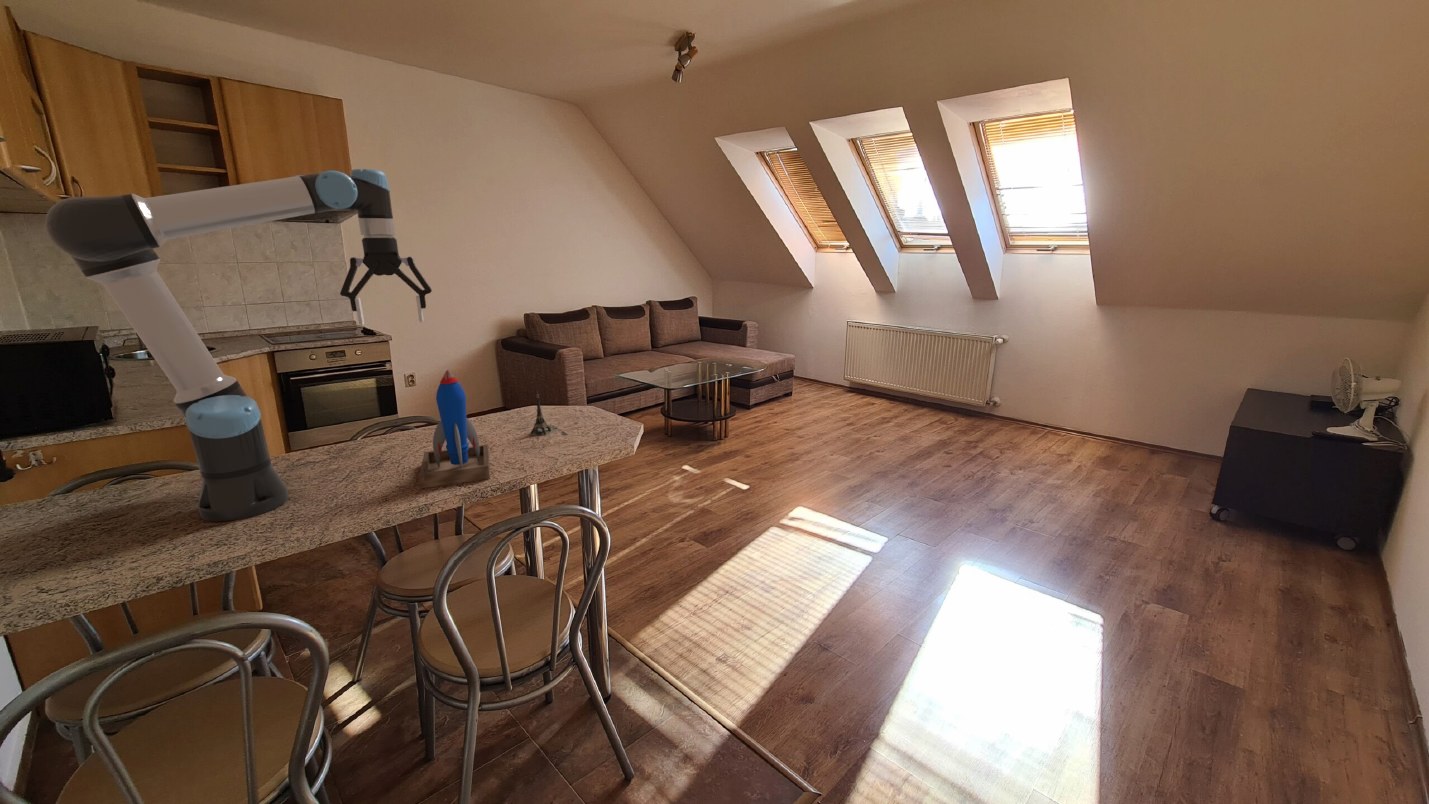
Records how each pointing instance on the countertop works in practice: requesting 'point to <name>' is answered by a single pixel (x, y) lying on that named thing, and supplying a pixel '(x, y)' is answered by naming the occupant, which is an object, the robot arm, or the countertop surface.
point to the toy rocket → (453, 423)
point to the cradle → (454, 468)
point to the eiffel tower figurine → (542, 423)
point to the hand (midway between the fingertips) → (392, 322)
